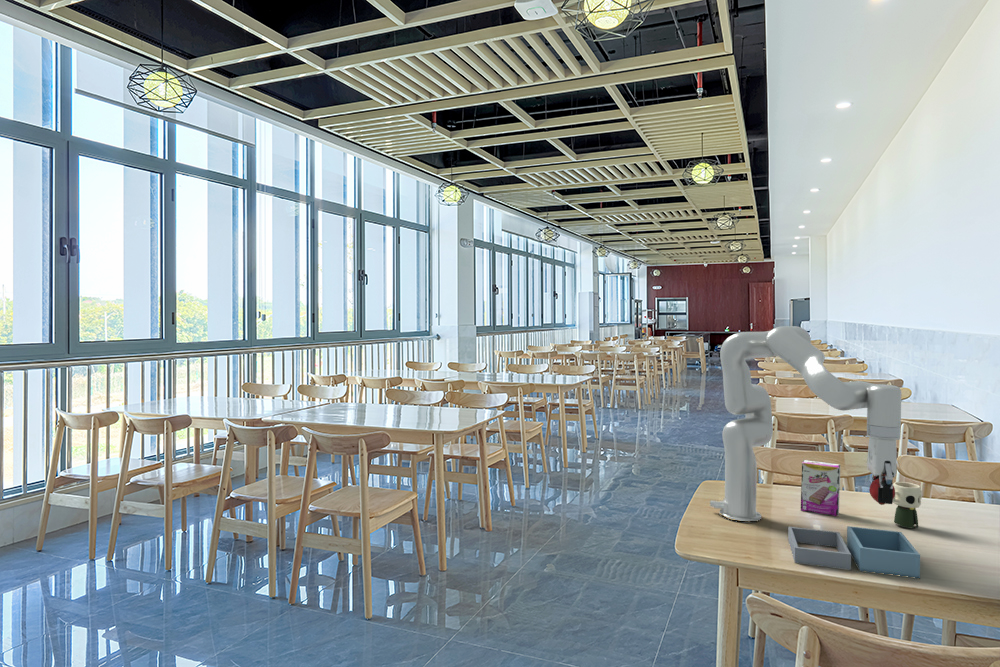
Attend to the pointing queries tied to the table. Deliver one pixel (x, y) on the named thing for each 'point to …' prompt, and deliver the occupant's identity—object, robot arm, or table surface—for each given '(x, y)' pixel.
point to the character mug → (907, 503)
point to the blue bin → (883, 552)
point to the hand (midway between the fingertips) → (881, 498)
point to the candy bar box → (820, 487)
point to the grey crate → (819, 556)
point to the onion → (874, 490)
